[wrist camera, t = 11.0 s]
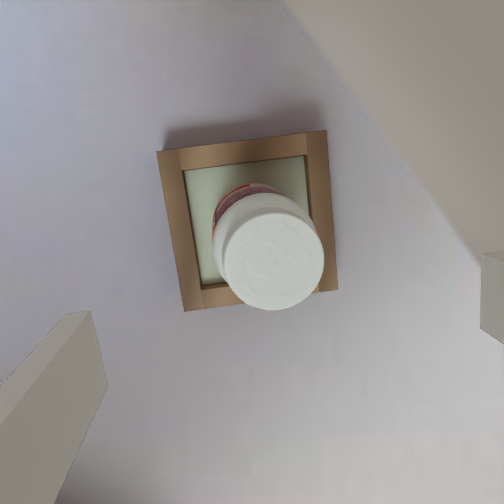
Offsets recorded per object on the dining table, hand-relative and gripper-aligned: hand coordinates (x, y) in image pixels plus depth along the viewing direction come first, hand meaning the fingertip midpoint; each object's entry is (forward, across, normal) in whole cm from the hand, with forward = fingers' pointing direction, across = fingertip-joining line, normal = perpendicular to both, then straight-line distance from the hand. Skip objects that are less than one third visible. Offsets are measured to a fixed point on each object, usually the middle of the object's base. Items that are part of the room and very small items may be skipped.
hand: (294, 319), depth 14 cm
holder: (+20, 0, 0) cm, 21 cm away
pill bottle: (+18, 0, 0) cm, 19 cm away
